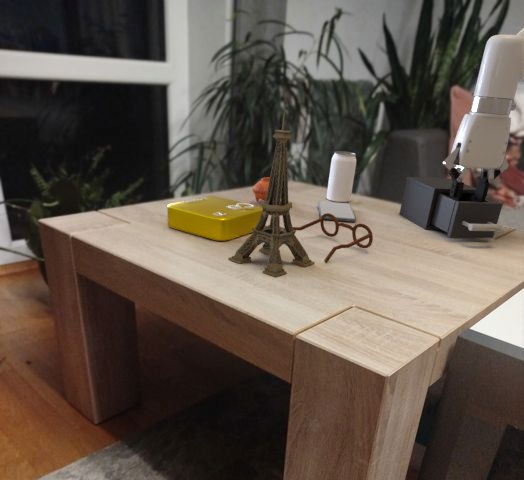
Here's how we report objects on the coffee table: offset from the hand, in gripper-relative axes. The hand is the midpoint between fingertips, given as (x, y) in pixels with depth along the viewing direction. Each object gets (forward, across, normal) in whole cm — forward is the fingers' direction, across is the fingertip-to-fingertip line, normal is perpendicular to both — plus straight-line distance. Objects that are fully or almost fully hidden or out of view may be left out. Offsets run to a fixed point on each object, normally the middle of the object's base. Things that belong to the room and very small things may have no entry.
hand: (466, 199), depth 108 cm
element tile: (+8, +54, -3) cm, 55 cm away
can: (+8, +17, -32) cm, 37 cm away
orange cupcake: (+8, +38, -26) cm, 47 cm away
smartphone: (+8, +23, -17) cm, 30 cm away
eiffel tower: (+8, +47, +18) cm, 51 cm away
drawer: (+7, 0, +1) cm, 7 cm away
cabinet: (+8, 0, -11) cm, 13 cm away
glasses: (+8, +35, +10) cm, 37 cm away
